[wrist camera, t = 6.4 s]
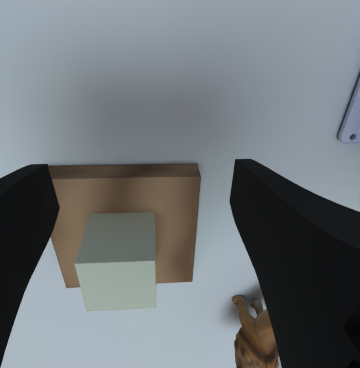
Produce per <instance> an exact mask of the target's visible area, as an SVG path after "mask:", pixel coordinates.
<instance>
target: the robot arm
mask: <svg viewBox="0 0 360 368" xmlns="http://www.w3.org/2000/svg"><path fill="white" fill-rule="evenodd" d="M352 134H353V136H352V137H351V138H350V136H351V135H352ZM338 139H339V141H341V142H342V143H360V78H359V81H358V83H357V86H356V89H355V92H354V94H353V97H352V100H351V103H350V105H349V108H348V111H347V113H346V116H345V119H344V122H343V124H342V127H341V130H340V133H339V135H338ZM230 205H231V210H232V214H233V217H234V221H235V224H236V226H237V229H238V231H239V233H240V236H241V238H242V241H243V243H244V245H245V248H246V250H247V252H248V255H249V257H250V259H251V262H252V264H253V267H254V269H255V272H256V275H257V277H258V280H259V284H260V287H261V290H262V294H263V297H264V300H265V304H266V307H267V311H268V315H269V318H270V322H271V326H272V329H273V333H274V337H275V341H276V345H277V349H278V353H279V357H280V361H281V366H282V368H360V212H359V211H356V210H353V209H350V208H347V207H345V206H342V205H340V204H337V203H335V202H333V201H330V200H328V199H325V198H323V197H321V196H319V195H317V194H314V193H312V192H310V191H308V190H306V189H304V188H303V187H301V186H299V185H297V184H295V183H293V182H291V181H289V180H288V179H286V178H284V177H282V176H281V175H279V174H277V173H276V172H274V171H272V170H270V169H269V168H267V167H265V166H264V165H262V164H260V163H258V162H256V161H254V160H252V159H235V165H234V173H233V180H232V187H231V194H230ZM59 210H60V206H59V202H58V199H57V195H56V192H55V189H54V185H53V182H52V178H51V175H50V171H49V168H48V164H32V165H28V166H25V167H23V168H20V169H18V170H16V171H14V172H12V173H10V174H8V175H6V176H4V177H2V178H0V367H1V363H2V360H3V356H4V353H5V349H6V346H7V343H8V340H9V337H10V333H11V330H12V327H13V324H14V321H15V318H16V315H17V312H18V309H19V306H20V303H21V301H22V298H23V295H24V292H25V290H26V287H27V285H28V283H29V280H30V278H31V276H32V274H33V272H34V270H35V268H36V266H37V264H38V262H39V260H40V257H41V255H42V253H43V251H44V249H45V247H46V245H47V243H48V241H49V239H50V236H51V234H52V232H53V230H54V227H55V224H56V221H57V217H58V213H59Z"/></svg>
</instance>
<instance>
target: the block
mask: <svg viewBox="0 0 360 368" xmlns="http://www.w3.org/2000/svg"><path fill="white" fill-rule="evenodd" d="M75 268H76V272H77V276H78V280H79V284H80V288H81V292H82V296H83V299H84V303H85V307H86V311H104V310H122V309H141V308H156V243H155V212H142V213H96V214H90V217H89V220H88V224H87V227H86V230H85V233H84V236H83V239H82V242H81V245H80V248H79V251H78V254H77V258H76V261H75Z"/></svg>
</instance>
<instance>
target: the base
mask: <svg viewBox="0 0 360 368" xmlns="http://www.w3.org/2000/svg"><path fill="white" fill-rule="evenodd" d="M48 168H49V171H50V175H51V178H52V182H53V185H54V189H55V192H56V195H57V199H58V202H59V206H60V210H59V213H58V217H57V221H56V224H55V227H54V230H53V232H52V234H51V236H50V237H51V240H52V243H53V246H54V249H55V253H56V256H57V259H58V262H59V266H60V269H61V272H62V275H63V278H64V282H65V285H66V288H75V287H80V284H79V280H78V276H77V272H76V268H75V261H76V258H77V254H78V251H79V248H80V245H81V242H82V239H83V236H84V233H85V230H86V227H87V224H88V220H89V217H90V214H96V213H142V212H155V243H156V283H174V282H192V278H193V266H194V254H195V242H196V230H197V217H198V205H199V193H200V181H201V175H200V172H199V169H198V165H197V164H161V165H82V166H48Z"/></svg>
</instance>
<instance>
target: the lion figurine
mask: <svg viewBox="0 0 360 368" xmlns="http://www.w3.org/2000/svg"><path fill="white" fill-rule="evenodd" d="M232 301H233V302H234V304H238V309H239V318H240V322H241V325H242V327H241V328H240V330H239V332H238V333H237V334H236V340H235V341H234V347H235V362H236V366H237V368H278V366H279V364H278V356H279V353H278V349H277V345H276V341H275V337H274V333H273V329H272V326H271V322H270V318H269V315H268V311H267V309H265V310H263V307H262V303H261V301H260V300H257V299H255V300H253V301H252V302H251V303H250V304H251V306H252V307H253V308H255V311H256V313H257V317H256V318H254V317H253V316H251V315H250V314H249V312H248V309H247V306H246V301H245V300H244V299H243V298H242V297H241V296H234V297H233V298H232Z"/></svg>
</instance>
